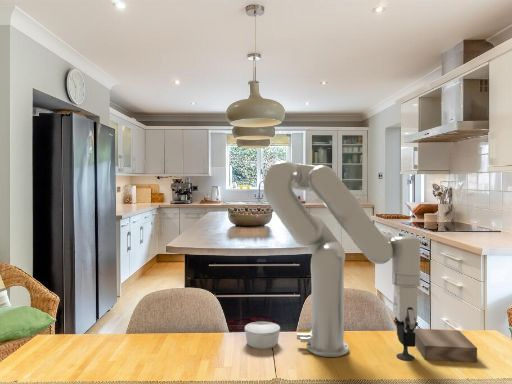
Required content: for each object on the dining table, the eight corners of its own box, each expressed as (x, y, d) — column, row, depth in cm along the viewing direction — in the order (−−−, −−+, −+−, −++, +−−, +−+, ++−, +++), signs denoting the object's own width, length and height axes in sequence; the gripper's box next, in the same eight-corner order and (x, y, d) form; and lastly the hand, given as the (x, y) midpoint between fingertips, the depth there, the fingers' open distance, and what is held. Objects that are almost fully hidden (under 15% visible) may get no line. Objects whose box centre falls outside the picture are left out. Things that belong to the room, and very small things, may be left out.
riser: (424, 359, 117) (424, 345, 117) (412, 341, 131) (412, 328, 131) (477, 362, 115) (477, 348, 115) (459, 343, 129) (459, 330, 129)
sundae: (417, 354, 121) (417, 303, 120) (418, 363, 114) (418, 309, 114) (393, 351, 123) (393, 301, 122) (393, 360, 116) (393, 307, 116)
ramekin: (273, 335, 136) (273, 319, 136) (285, 348, 125) (285, 331, 125) (240, 339, 133) (240, 322, 133) (249, 352, 122) (249, 334, 122)
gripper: (386, 272, 127) (386, 329, 127) (398, 286, 110) (398, 352, 110) (412, 273, 126) (411, 330, 127) (428, 287, 109) (427, 353, 109)
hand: (405, 340), depth 118 cm, fingers open, 7 cm apart
